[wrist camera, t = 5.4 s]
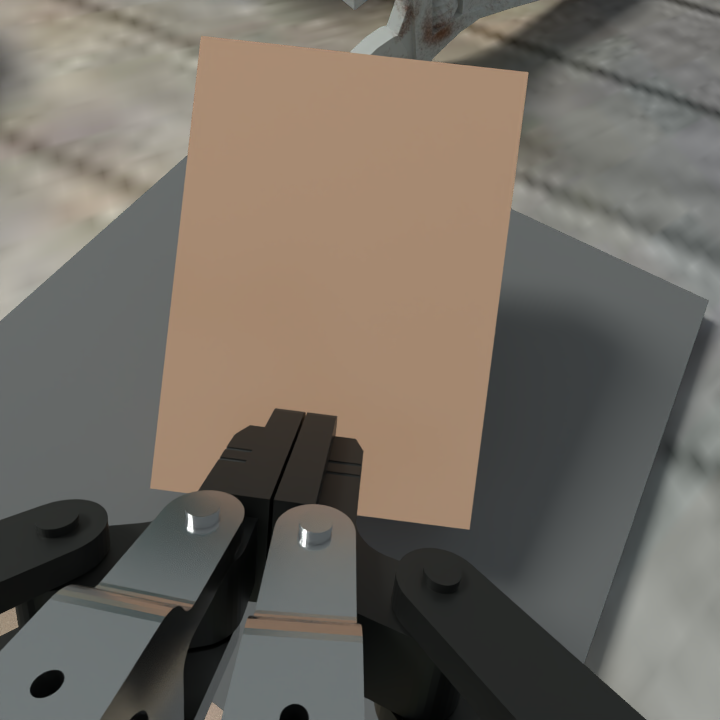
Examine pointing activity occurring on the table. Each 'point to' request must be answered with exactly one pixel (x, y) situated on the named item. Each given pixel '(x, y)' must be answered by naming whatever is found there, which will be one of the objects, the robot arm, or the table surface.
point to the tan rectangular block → (341, 264)
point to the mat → (500, 426)
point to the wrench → (426, 25)
